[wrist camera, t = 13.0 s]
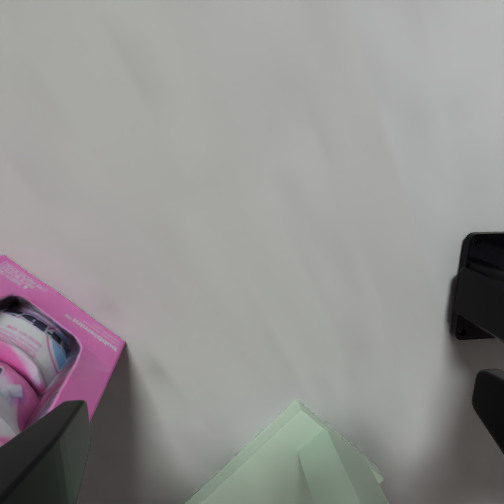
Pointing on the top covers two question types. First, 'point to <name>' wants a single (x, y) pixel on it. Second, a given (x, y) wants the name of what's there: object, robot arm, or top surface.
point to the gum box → (47, 351)
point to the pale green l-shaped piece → (295, 467)
